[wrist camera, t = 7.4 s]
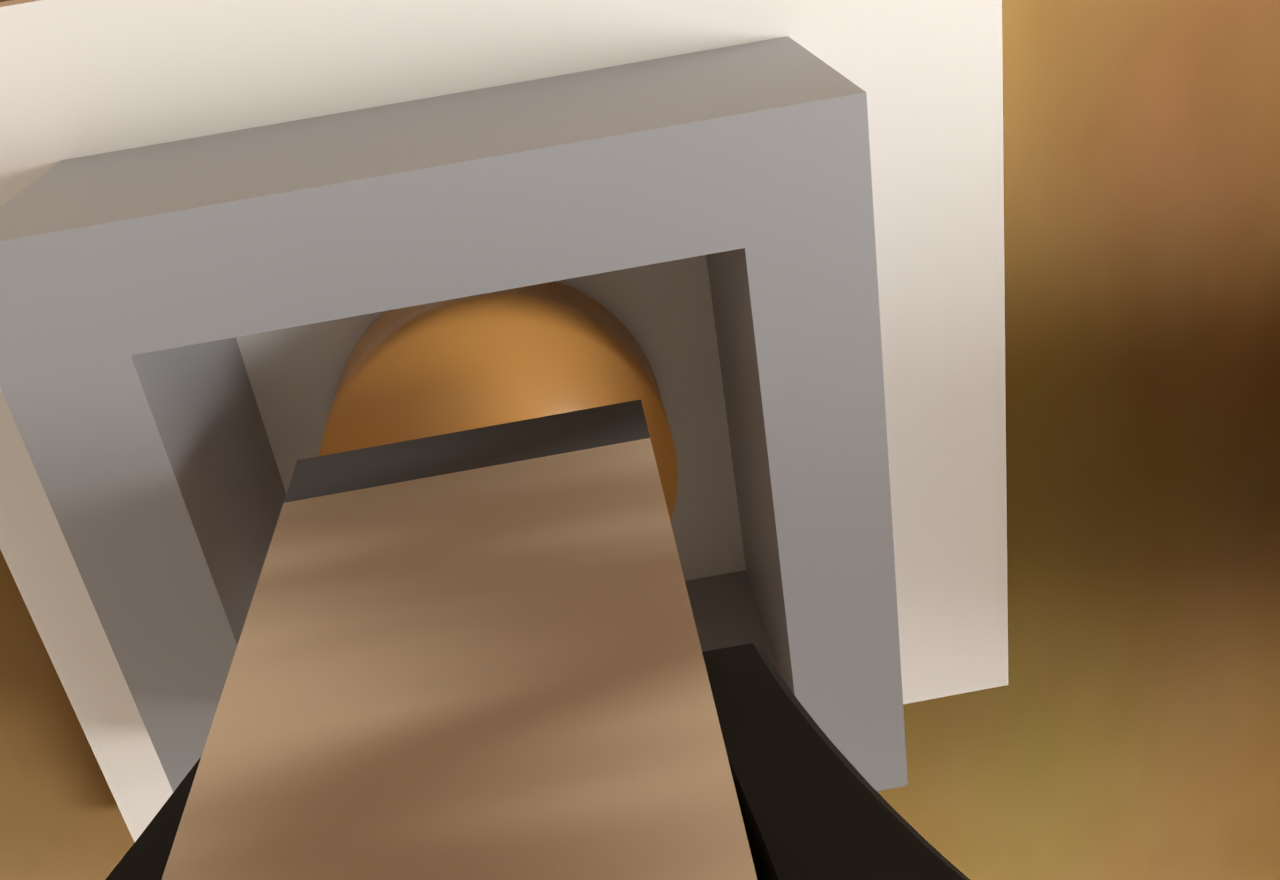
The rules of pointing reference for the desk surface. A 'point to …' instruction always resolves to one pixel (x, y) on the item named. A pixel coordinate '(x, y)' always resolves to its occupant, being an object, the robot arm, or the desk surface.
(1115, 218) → the desk surface
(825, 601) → the socket base plate
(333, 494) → the brown wooden block
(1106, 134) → the desk surface
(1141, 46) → the desk surface
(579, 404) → the button
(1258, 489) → the desk surface
